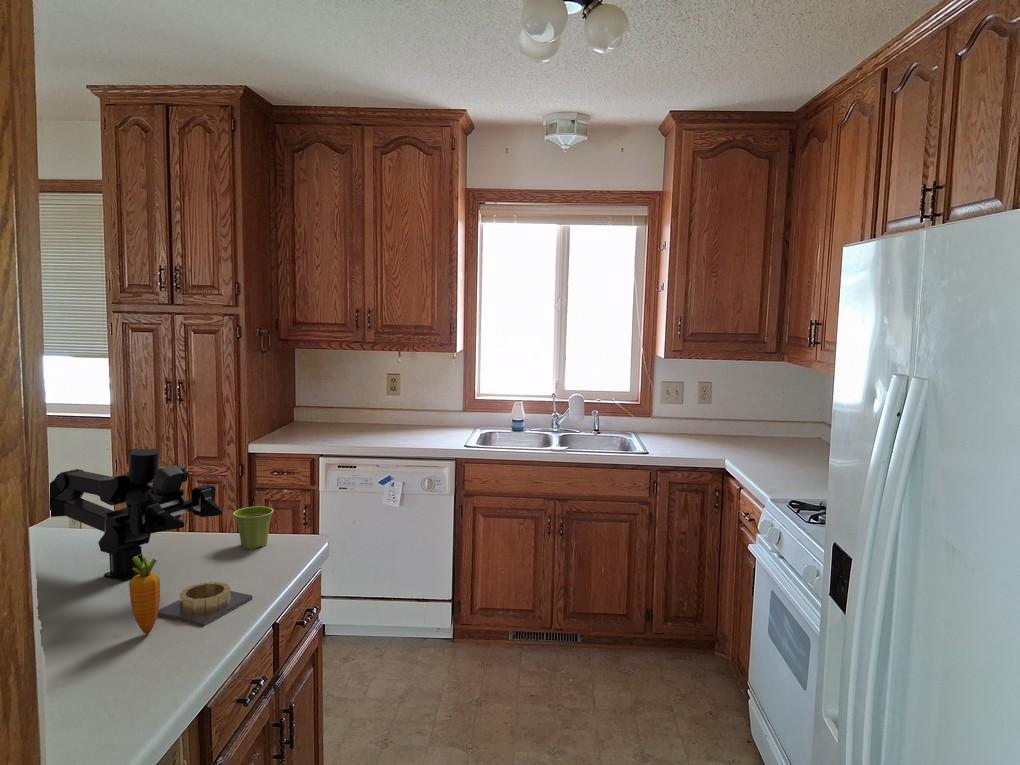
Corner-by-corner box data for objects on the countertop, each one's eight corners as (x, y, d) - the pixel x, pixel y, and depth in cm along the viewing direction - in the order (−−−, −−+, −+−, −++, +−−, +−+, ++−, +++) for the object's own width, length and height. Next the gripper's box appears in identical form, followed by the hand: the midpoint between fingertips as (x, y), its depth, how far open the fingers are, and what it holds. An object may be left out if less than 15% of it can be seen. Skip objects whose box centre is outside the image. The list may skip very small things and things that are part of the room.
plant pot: (241, 538, 179) (240, 506, 178) (278, 538, 180) (277, 505, 179) (229, 551, 170) (228, 517, 169) (268, 551, 170) (267, 517, 169)
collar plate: (156, 614, 135) (155, 598, 135) (207, 589, 147) (206, 574, 147) (203, 626, 131) (203, 609, 131) (252, 599, 143) (251, 583, 143)
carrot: (168, 630, 129) (164, 553, 127) (146, 642, 124) (142, 562, 123) (147, 626, 131) (143, 549, 129) (125, 638, 126) (121, 558, 124)
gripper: (111, 473, 139) (163, 492, 133) (190, 455, 156) (240, 471, 149) (110, 526, 141) (162, 546, 134) (188, 502, 158) (238, 520, 151)
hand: (203, 518), depth 142 cm, fingers open, 9 cm apart
